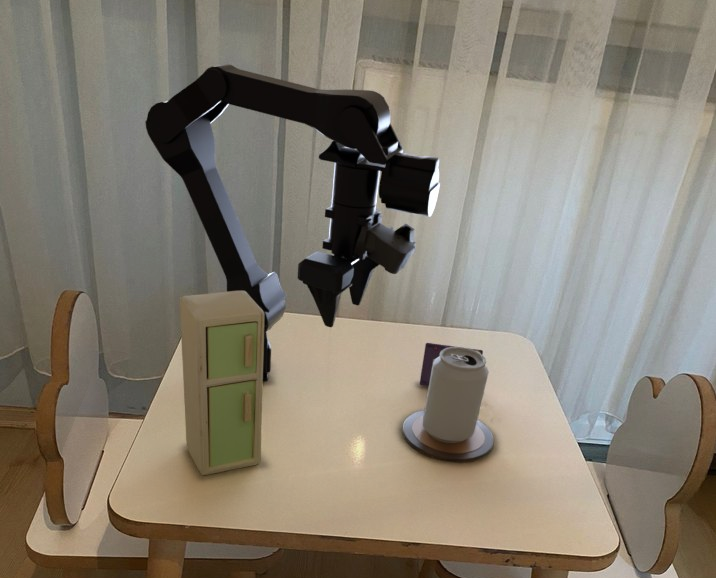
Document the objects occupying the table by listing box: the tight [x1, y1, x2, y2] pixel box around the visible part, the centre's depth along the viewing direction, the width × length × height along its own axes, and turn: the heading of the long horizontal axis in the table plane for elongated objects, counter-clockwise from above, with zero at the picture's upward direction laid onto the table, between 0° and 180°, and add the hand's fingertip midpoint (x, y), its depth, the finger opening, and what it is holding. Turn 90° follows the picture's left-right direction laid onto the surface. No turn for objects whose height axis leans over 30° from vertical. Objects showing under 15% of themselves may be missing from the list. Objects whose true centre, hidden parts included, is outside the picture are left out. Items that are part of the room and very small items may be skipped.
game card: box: [419, 342, 484, 387], centre depth 113 cm, size 7×5×9 cm
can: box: [422, 346, 489, 443], centre depth 98 cm, size 8×8×12 cm
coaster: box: [401, 409, 494, 463], centre depth 101 cm, size 13×13×1 cm
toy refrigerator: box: [179, 291, 264, 476], centre depth 85 cm, size 8×7×21 cm
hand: (343, 315), depth 100 cm, fingers open, 9 cm apart
